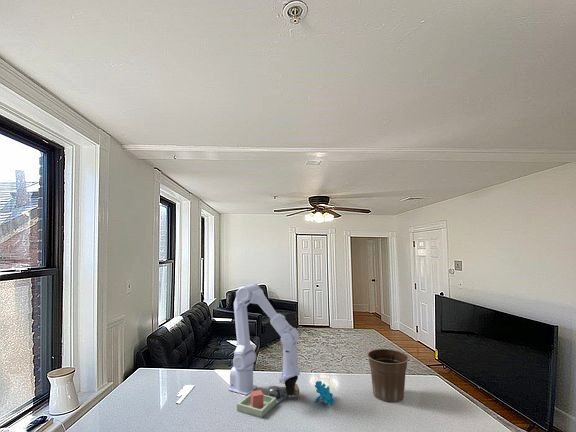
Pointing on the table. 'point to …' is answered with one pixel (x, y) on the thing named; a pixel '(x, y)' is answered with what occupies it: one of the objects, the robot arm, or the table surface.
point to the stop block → (257, 399)
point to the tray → (246, 408)
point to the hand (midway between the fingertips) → (290, 395)
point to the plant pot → (388, 374)
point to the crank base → (278, 399)
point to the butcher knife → (184, 392)
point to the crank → (282, 391)
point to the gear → (324, 393)
